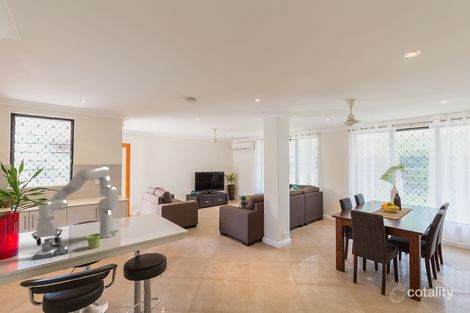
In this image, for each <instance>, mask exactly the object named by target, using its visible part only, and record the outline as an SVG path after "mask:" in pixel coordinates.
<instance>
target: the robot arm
mask: <svg viewBox="0 0 470 313" xmlns="http://www.w3.org/2000/svg"><path fill="white" fill-rule="evenodd" d="M110 172H111V171H110V168H109V167H108V166H101V165H100V166H99V165H97V166H96V165H95V166H93V167H92V168H81V169H80V170H78V171H77V172H76V174H74V176H73V177H72V179H70V180H69V182H68V183H67V184H66V185H64V186H63V187H62V188H61V189H59V190H58V191H57V192H56V193H55V194H54V195H53V196H52V198H50V200H44V201H41V202H39V203H38V218H36V221H37V226H36V231H34V232H33V233H31V237H32V238H33V239H34V240H35V241H36V245H37V246H38V247H40V246H41V245H42V239H41V238H46V237H54V238H55V243H57V242H58V241H59V237H60V235H62V233H63V232H64V230H63V229H62V228H58V227H57V226H58V225H57V223H56V222H57V221H56V220H55V217H54V215H55V214H54V211H62V210H65V209H66V208H67V207H68V205H69V202H68V201H67V200H66V198H67V197H68V196H70V195H72V194H74V193H76V192H78V191H80V189H81V188H82V187H83V185H85V183H86V182H87V181H93V180H97V179H98V184H99V195H100V196H101V197H103V198H102V199H100V200H99V201H98V204H97V207H98V214H99V233H100V234H101V236H100V239H106V238H107V239H108V238H110V237H113V236H114V235H115V234H116V233H117V234H118V233H119V230H118V229H114V226H113V224H114V222H113V217H114V216H113V211H116V210H117V208H118V207H119V190H118V188H116V187H115V186H114V185H113V186H112V180H111V176H110ZM58 202H59V203H58ZM40 203H43V204H47V205H39V204H40ZM57 203H58V204H57Z"/></svg>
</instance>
